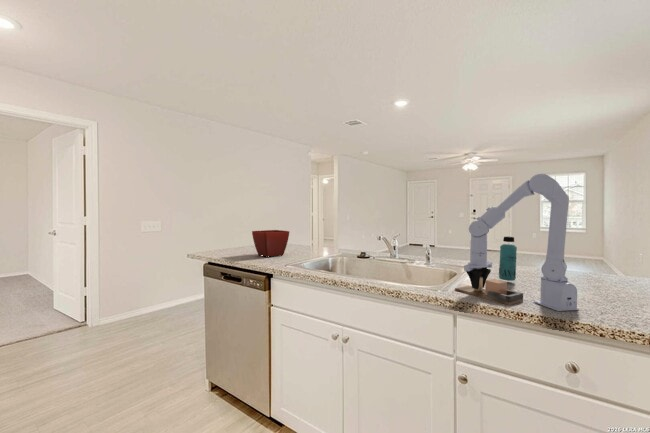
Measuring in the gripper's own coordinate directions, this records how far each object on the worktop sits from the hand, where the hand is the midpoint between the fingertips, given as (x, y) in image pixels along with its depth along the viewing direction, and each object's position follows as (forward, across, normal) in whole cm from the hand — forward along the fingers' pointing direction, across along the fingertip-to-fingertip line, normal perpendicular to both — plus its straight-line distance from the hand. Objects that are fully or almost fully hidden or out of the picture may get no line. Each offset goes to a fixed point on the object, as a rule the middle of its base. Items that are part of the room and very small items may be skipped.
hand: (478, 287), depth 118 cm
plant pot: (+2, +38, -127) cm, 132 cm away
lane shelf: (+2, 0, +4) cm, 4 cm away
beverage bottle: (+2, -26, -4) cm, 26 cm away
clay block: (+1, 0, +4) cm, 4 cm away
